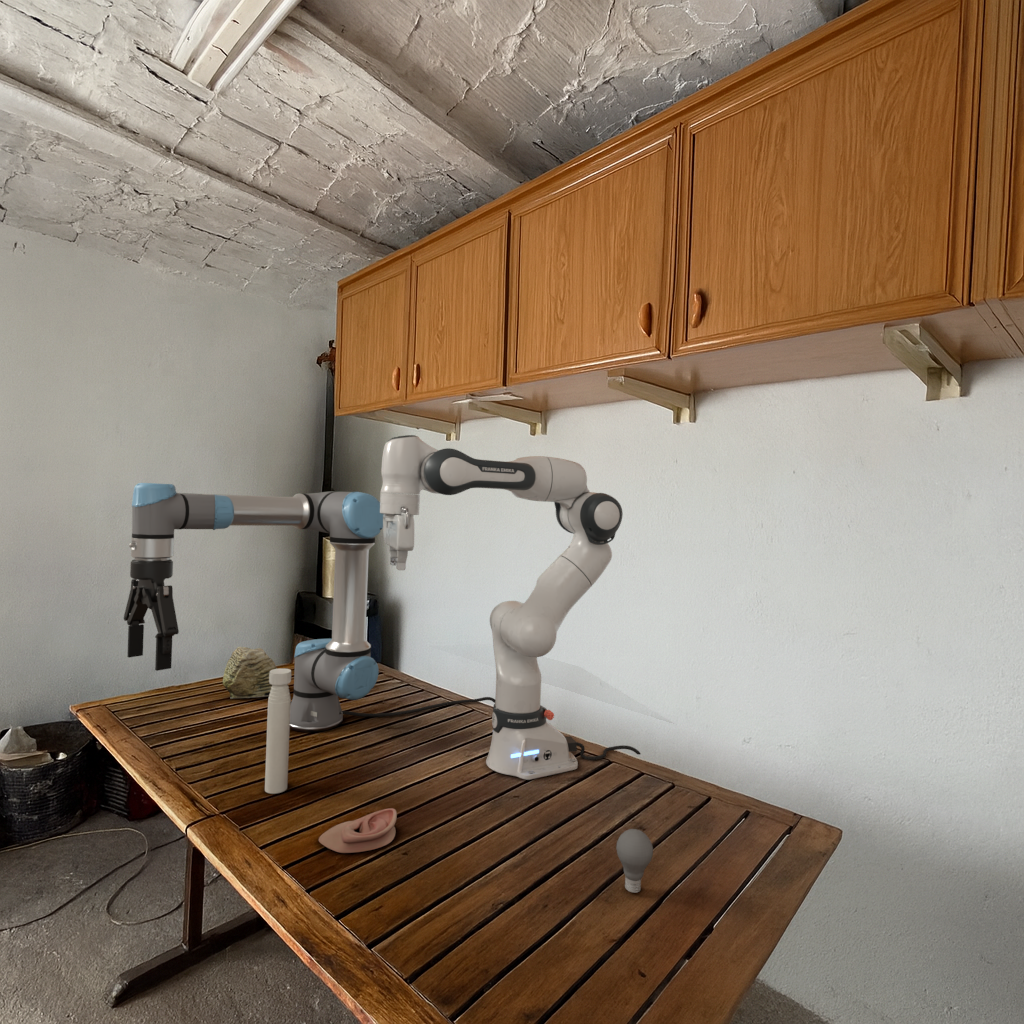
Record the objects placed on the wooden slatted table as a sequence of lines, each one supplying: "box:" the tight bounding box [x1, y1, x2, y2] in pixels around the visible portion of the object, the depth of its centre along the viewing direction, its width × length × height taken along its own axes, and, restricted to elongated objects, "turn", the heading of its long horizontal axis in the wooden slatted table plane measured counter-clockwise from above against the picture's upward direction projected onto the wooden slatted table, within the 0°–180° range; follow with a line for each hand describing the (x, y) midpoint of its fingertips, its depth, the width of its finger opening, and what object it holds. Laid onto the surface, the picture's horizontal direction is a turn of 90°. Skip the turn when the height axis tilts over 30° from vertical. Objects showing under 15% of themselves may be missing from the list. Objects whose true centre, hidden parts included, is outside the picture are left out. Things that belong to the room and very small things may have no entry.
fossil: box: [222, 646, 279, 699], centre depth 198 cm, size 9×18×15 cm, turn 132°
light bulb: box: [615, 828, 654, 894], centre depth 106 cm, size 6×6×10 cm
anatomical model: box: [318, 807, 398, 854], centre depth 118 cm, size 13×4×12 cm
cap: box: [269, 668, 292, 685], centre depth 136 cm, size 4×4×2 cm
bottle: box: [264, 684, 292, 795], centre depth 136 cm, size 5×5×25 cm
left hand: (148, 662), depth 129 cm, fingers open, 13 cm apart
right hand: (397, 567), depth 144 cm, fingers open, 8 cm apart
